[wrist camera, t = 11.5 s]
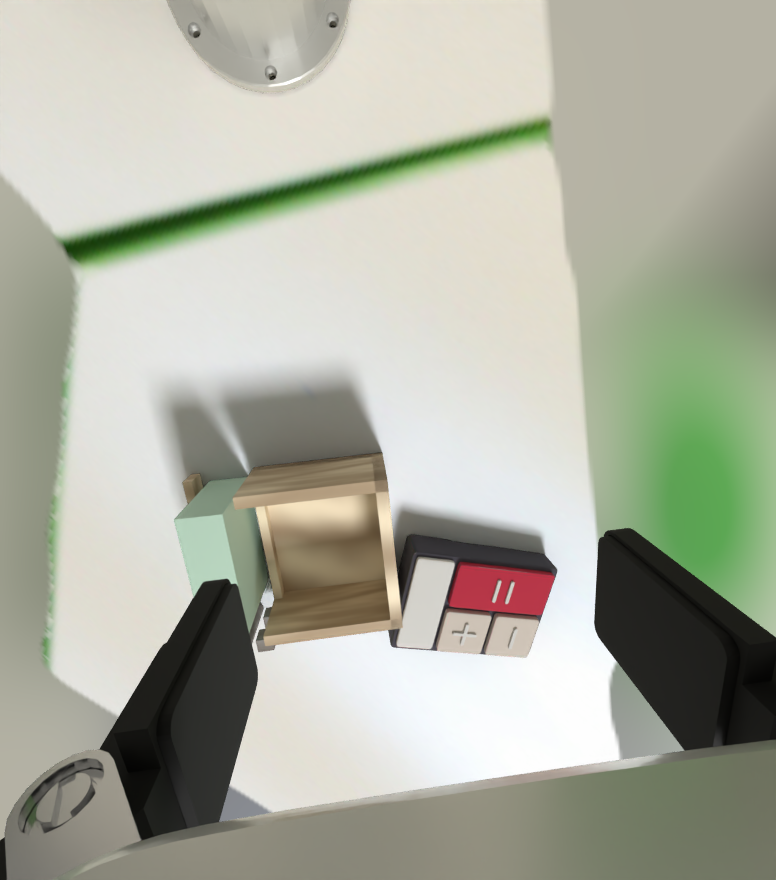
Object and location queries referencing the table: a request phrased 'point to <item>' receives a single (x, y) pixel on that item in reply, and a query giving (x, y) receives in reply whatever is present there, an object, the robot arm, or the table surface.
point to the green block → (223, 543)
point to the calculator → (470, 597)
